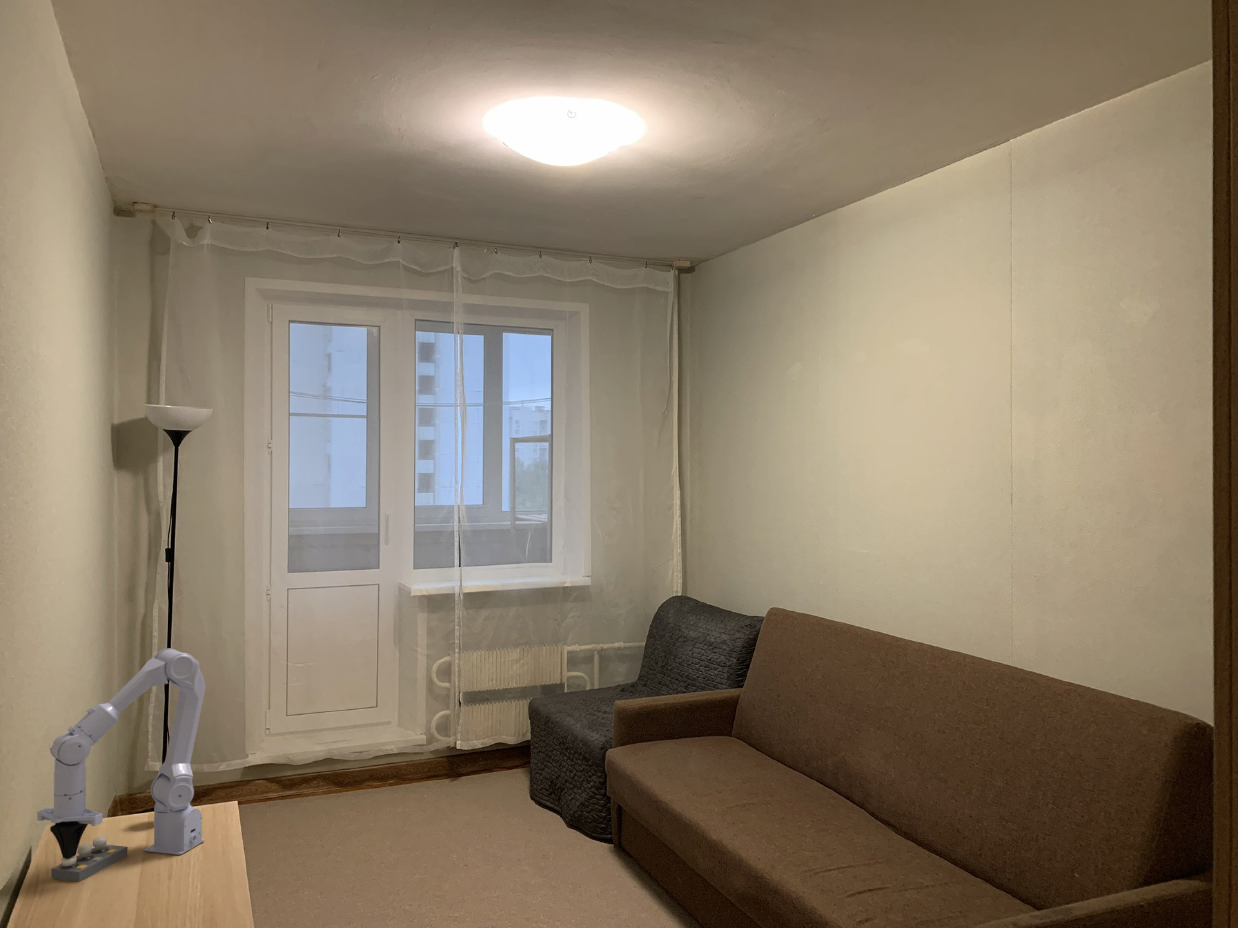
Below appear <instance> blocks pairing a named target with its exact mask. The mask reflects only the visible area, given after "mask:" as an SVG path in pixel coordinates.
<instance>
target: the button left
mask: <svg viewBox="0 0 1238 928" xmlns="http://www.w3.org/2000/svg"><path fill="white" fill-rule="evenodd" d="M77 856H78V855H75V856H73V857H71V858H69V859H65V858H63V857H62V858H61V864H62V866H71V865H74V864H76V862H77Z"/></svg>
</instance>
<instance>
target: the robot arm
mask: <svg viewBox="0 0 1238 928" xmlns="http://www.w3.org/2000/svg"><path fill="white" fill-rule="evenodd" d="M200 664H201V663H200V662H199V661H198V660H197V659H196V658H195V657H194V656H192V655H191V654H190V653H186V652H181V651H180V650H179V651H178V650H177V649H174V648H169V647H168V648H163V649H162V650H160V651H159V652H157V653H156V654H155V656H153V657H151V658H150V659H149V660H148V661H146V663H144V665H143V667H142V668H141V669H140V670H139V671H138V672H137V673H136V674H135V675H134V676H133V677H132V678H131V679H130V680H129V681H128V682H127V683H126V684H124V686H123V687H122V688H121V689H120V690H119V691H118V692H117V693H116V694H115V695H113V697H112V698H111V699H110V700H109V701H108V702H106V703H98V704H96V705H95V706H90V707H89V708H88V709H87V710H86V713H87V714H86V715H84V716H83V717H82V718H81V719H80V720H79V721H78V722H76V723H75V724H74V726H73V725H70V727H68V728H67V731H68V732H64V733H62V734H60V735H58V736H57V737H56V738H55V739H54V741H53V742H52V743H53V744H52V745H51V747H49V751H50V755H51V756H53V758H55V759H54V771H53V808H42V809H40V810H37V814H36V815H37V817H36V818H37V819H36V820H37V822H39V821H40V822H43V821H50V823H52V824H53V823H54V824H53V825H51V826H50V829H49V831H50V832H51V833H52V834H53V836H54V837H55V839H56V841H57V843H58V845H59V849H60V852H61V856H62V858H65V859H69V858H71V857H73V856H77V853H78V846H80V845H79V844H80V842H81V838H82V837H83V835H84V832H85V831H86V828H87V827H88V825H91V826H92V827H96V826H98V825H101V824H103V813H100V812H96V811H94V810H91V809H89V808H87V807H86V806H87V803H86V801H87V800H86V799H87V798H86V797H87V796H86V795H87V794H86V792H87V789H86V788H87V767H86V759H87V758H88V757H89V755H90V752H91V749H92V747H93V746H95V744H96V743H97V742H98V741H99V740H101V739H102V738H103V737H104V736H105V735H106V734H107V733H108V732H109V731H110V730H112V728H114V727H115V725H116V724H118V723H119V717H120V714H121V713H122V712H123V711H124V710H125V709H126V708H128V706H130V705H131V704H132V703H133V702H134V701H136V699H138V698H139V697H140V696H141V695H143V694H144V693H145V692H146V691H147V690H149V689H150V688H151V687H155V686H161V685H167V684H169V682H168V681H170V683H171V684H172V685H173V686H174V687H175V688H176V689H177V691H178V697H177V702H176V707H175V711H174V716H173V721H172V727H171V732H170V736H169V741H168V745H167V750H166V755H165V760H164V762H163V763H162V764H161V765H160V767H159V769H158V773H157V776H156V777H155V778H154V780H153V781H152V783H151V786H150V794H152V795H151V797H152V796H153V797H154V798H155V799H156V802H155V804H154V811H153V814H154V815H153V816H154V817H153V819H154V820H153V822H154V823H153V825H154V826H153V844H150V845H149V846H148V847H146V848H144V851H145V852H148V853H149V852H150V853H159V854H169V855H170V854H171V855H182V854H184V853H186V852H187V851H189V850H191V849H193V848H194V847H196V846H198V845H200V844H202V843H203V842H204V841H205V839H204V838H203V835H202V834H203V831H202V830H203V829H202V828H203V825H202V824H203V815H202V811H201V810H200V809H198V808H195V807H194V806H192V805H191V802H192V800H193V799H194V796H195V789H194V785H193V778H194V775H193V774H194V773H193V770H192V767H191V762H192V757H193V752H194V747H195V741H196V737H197V732H198V729H199V722H200V718H201V712H202V707H203V703H204V698H205V694H206V693H205V692H206V685H207V684H206V682H205V679H204V677H203V674H202V671H201V669H200V666H201V665H200ZM153 797H152V798H153Z"/></svg>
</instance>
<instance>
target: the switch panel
mask: <svg viewBox="0 0 1238 928" xmlns="http://www.w3.org/2000/svg"><path fill="white" fill-rule="evenodd" d="M128 848H129V847H128V846H124V845H115V844H107V843H106V844H105V845H103V846H100V847H92V851H91V852H90V853H87V854H78V855H76V856H77V862H76V864H74V865H71V866H62V863H61V864H58V865H56V866H55V867H52V868H51V869H50V871H51V872H50V874H51V875H50V879H51V878H53V879H52V880H61V881H68V882H76V883H77V882H78V883H80V882H81V881H83V880H86V879H87V878H89V877H91V876H93V875H95V874H96V873H98V872H100V871H101V870H104V869H106V868H108V867H110V866H111V865H113V864H115V863H117V862H118V861H121V860H123V859H124V858H126V857H128V855H129V854H128Z"/></svg>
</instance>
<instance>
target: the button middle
mask: <svg viewBox="0 0 1238 928" xmlns="http://www.w3.org/2000/svg"><path fill="white" fill-rule="evenodd" d="M92 848H93V843H92V844H91V843H83V844H81V845H78V849H77V854H78V855H80V854H87V853H90V852H91V851H92Z"/></svg>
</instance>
